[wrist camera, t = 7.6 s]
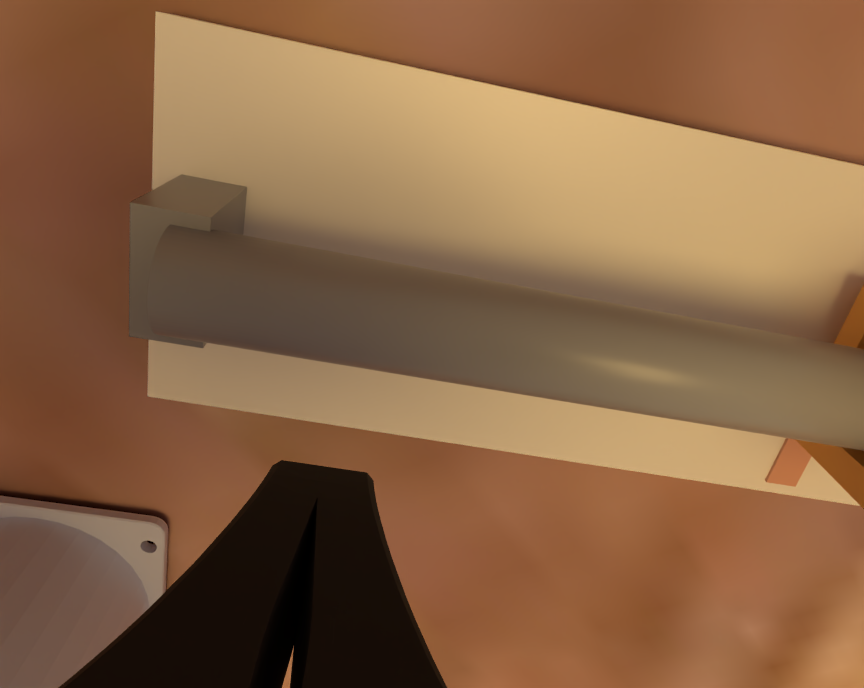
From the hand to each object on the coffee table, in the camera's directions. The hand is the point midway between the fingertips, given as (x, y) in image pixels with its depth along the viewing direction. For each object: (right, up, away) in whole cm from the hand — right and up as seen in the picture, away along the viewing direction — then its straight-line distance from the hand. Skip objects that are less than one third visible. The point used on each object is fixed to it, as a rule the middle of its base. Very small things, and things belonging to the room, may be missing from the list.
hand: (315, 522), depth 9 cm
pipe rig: (+8, +4, +9) cm, 13 cm away
